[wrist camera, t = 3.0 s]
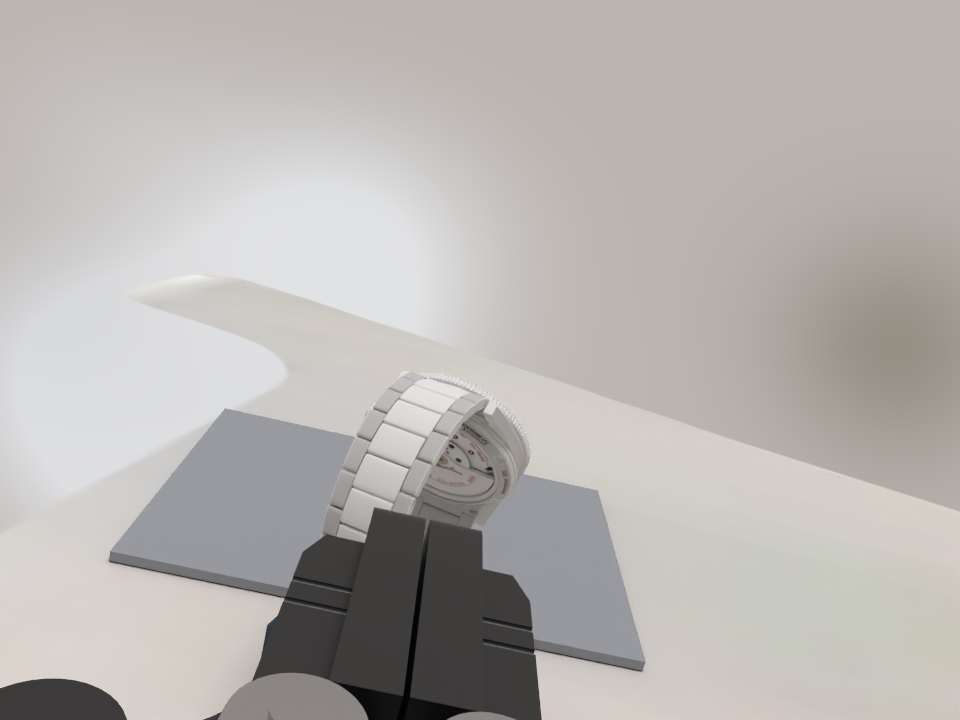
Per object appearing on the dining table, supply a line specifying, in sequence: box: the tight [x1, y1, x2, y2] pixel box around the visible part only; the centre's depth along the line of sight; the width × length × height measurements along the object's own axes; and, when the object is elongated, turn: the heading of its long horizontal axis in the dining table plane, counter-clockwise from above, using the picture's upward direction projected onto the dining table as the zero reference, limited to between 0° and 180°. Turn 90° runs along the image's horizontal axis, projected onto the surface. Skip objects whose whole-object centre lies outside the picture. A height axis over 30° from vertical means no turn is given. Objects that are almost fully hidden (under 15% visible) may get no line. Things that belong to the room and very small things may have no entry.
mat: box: [109, 409, 645, 671], centre depth 37 cm, size 20×14×1 cm
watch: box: [262, 371, 531, 655], centre depth 25 cm, size 6×8×11 cm
